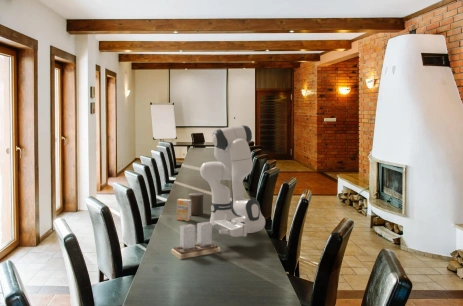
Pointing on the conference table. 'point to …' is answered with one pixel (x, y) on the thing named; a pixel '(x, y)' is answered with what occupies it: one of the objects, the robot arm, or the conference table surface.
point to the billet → (187, 237)
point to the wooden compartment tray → (194, 251)
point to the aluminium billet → (204, 234)
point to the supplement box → (183, 209)
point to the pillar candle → (196, 203)
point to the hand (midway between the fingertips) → (214, 229)
